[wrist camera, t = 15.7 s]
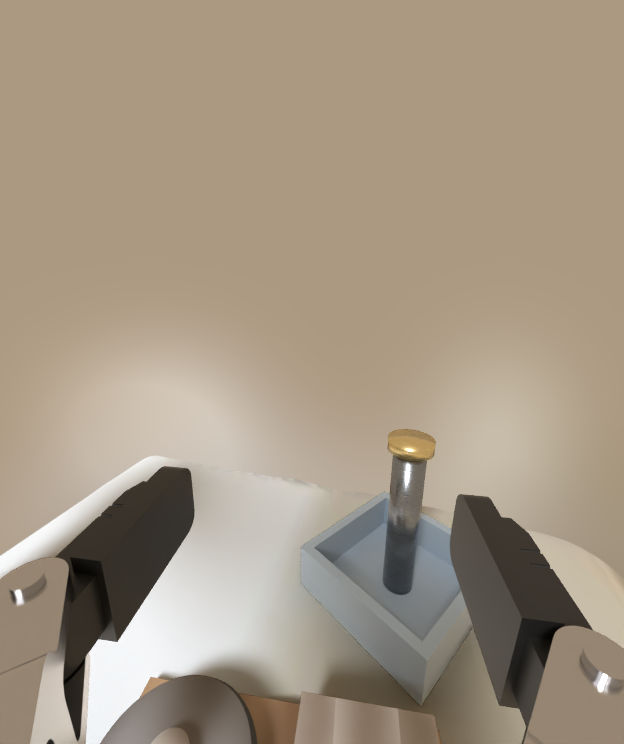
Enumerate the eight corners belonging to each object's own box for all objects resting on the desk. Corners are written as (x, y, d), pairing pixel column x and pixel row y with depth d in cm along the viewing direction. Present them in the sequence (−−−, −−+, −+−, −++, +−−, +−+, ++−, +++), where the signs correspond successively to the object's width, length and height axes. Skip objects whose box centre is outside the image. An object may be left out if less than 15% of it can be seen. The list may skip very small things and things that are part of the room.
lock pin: (368, 580, 37) (379, 437, 32) (392, 559, 40) (404, 425, 35) (403, 608, 34) (420, 454, 29) (425, 583, 36) (444, 439, 32)
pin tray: (300, 583, 38) (300, 546, 36) (381, 522, 47) (384, 491, 46) (420, 706, 27) (427, 660, 25) (494, 594, 36) (501, 556, 35)
